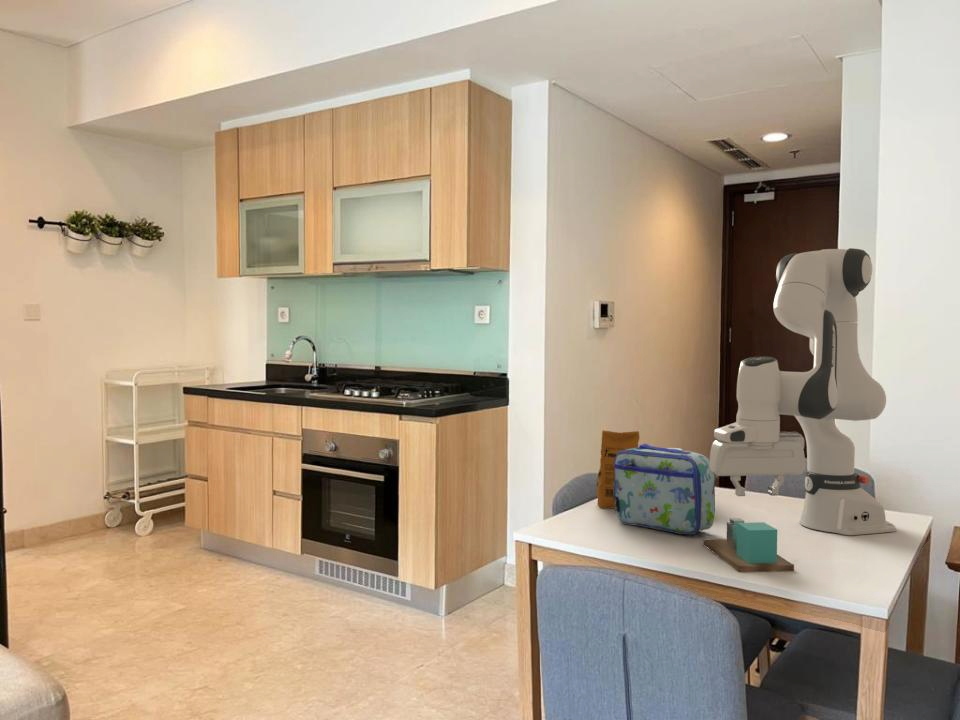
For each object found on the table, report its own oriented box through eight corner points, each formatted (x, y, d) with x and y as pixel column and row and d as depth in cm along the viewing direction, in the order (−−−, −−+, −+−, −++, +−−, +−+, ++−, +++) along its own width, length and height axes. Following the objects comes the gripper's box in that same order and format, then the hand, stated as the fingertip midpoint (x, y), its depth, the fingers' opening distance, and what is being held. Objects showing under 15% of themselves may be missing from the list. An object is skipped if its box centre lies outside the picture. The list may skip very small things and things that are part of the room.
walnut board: (752, 543, 176) (752, 538, 176) (794, 570, 156) (794, 565, 156) (703, 544, 175) (703, 539, 175) (738, 572, 156) (738, 566, 155)
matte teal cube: (763, 554, 164) (764, 522, 164) (776, 562, 158) (777, 529, 158) (736, 554, 164) (736, 522, 163) (748, 563, 158) (749, 530, 157)
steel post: (740, 543, 173) (741, 517, 172) (747, 547, 169) (747, 521, 169) (726, 543, 172) (726, 517, 172) (732, 547, 169) (732, 521, 169)
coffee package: (597, 501, 221) (598, 427, 220) (640, 503, 218) (640, 429, 217) (595, 508, 211) (595, 432, 210) (639, 511, 208) (640, 433, 207)
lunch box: (607, 521, 197) (608, 443, 196) (631, 515, 204) (631, 439, 203) (695, 542, 178) (696, 455, 177) (718, 533, 185) (719, 450, 184)
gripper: (796, 429, 164) (795, 491, 164) (706, 430, 162) (706, 493, 163) (811, 433, 157) (810, 497, 158) (718, 434, 156) (717, 499, 156)
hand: (756, 495), depth 160 cm, fingers open, 6 cm apart
